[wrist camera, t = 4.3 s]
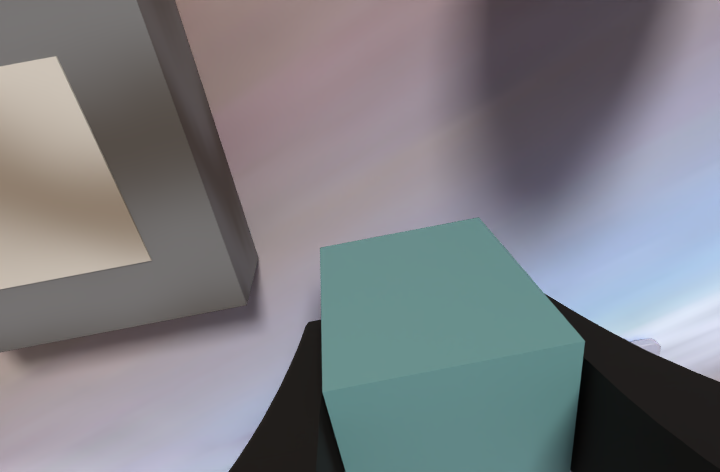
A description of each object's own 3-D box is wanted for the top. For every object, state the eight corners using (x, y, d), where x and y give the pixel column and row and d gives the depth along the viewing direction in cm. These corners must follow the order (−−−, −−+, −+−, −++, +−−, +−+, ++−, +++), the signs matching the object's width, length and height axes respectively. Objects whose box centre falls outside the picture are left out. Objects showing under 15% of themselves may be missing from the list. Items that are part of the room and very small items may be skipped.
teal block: (482, 339, 13) (566, 497, 9) (348, 366, 13) (364, 537, 9) (478, 217, 11) (584, 340, 7) (319, 247, 11) (322, 392, 7)
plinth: (258, 258, 16) (246, 306, 13) (0, 307, 16) (-65, 365, 13) (157, -53, 11) (107, -78, 9) (-208, 14, 11) (-376, 10, 8)
